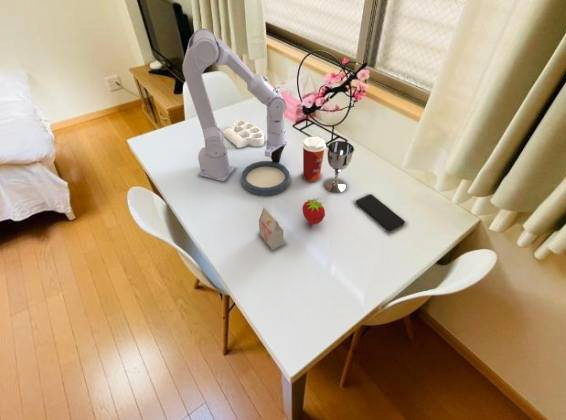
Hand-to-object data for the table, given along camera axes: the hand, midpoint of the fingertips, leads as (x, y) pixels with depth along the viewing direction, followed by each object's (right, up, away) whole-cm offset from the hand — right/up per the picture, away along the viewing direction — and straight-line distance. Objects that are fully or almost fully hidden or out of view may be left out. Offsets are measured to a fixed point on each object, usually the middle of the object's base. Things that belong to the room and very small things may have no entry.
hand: (275, 163), depth 110 cm
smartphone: (+33, -18, -16) cm, 41 cm away
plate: (-3, -7, -6) cm, 9 cm away
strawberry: (+12, -21, -20) cm, 31 cm away
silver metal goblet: (+20, -9, -7) cm, 23 cm away
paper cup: (+13, -5, -3) cm, 14 cm away
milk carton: (0, -26, -25) cm, 36 cm away
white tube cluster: (-13, +13, +15) cm, 23 cm away
